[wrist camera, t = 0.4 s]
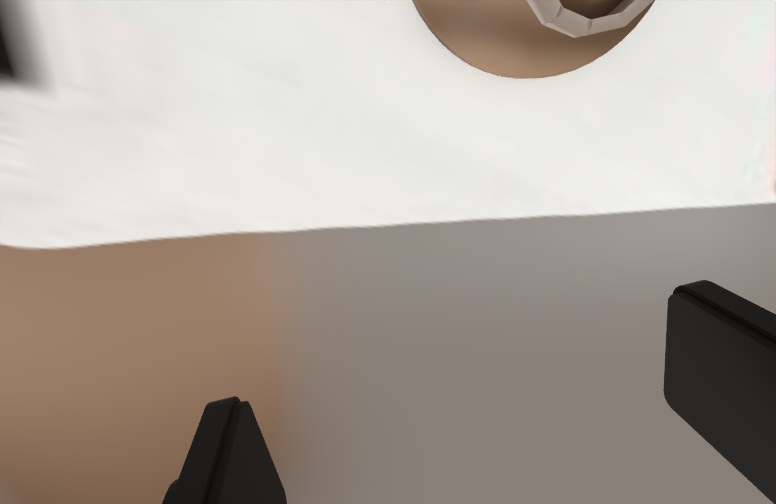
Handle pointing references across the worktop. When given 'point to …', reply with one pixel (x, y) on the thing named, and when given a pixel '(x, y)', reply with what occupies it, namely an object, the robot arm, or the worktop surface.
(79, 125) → the worktop surface
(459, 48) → the carrier plate
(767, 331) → the robot arm
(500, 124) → the worktop surface
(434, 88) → the worktop surface
